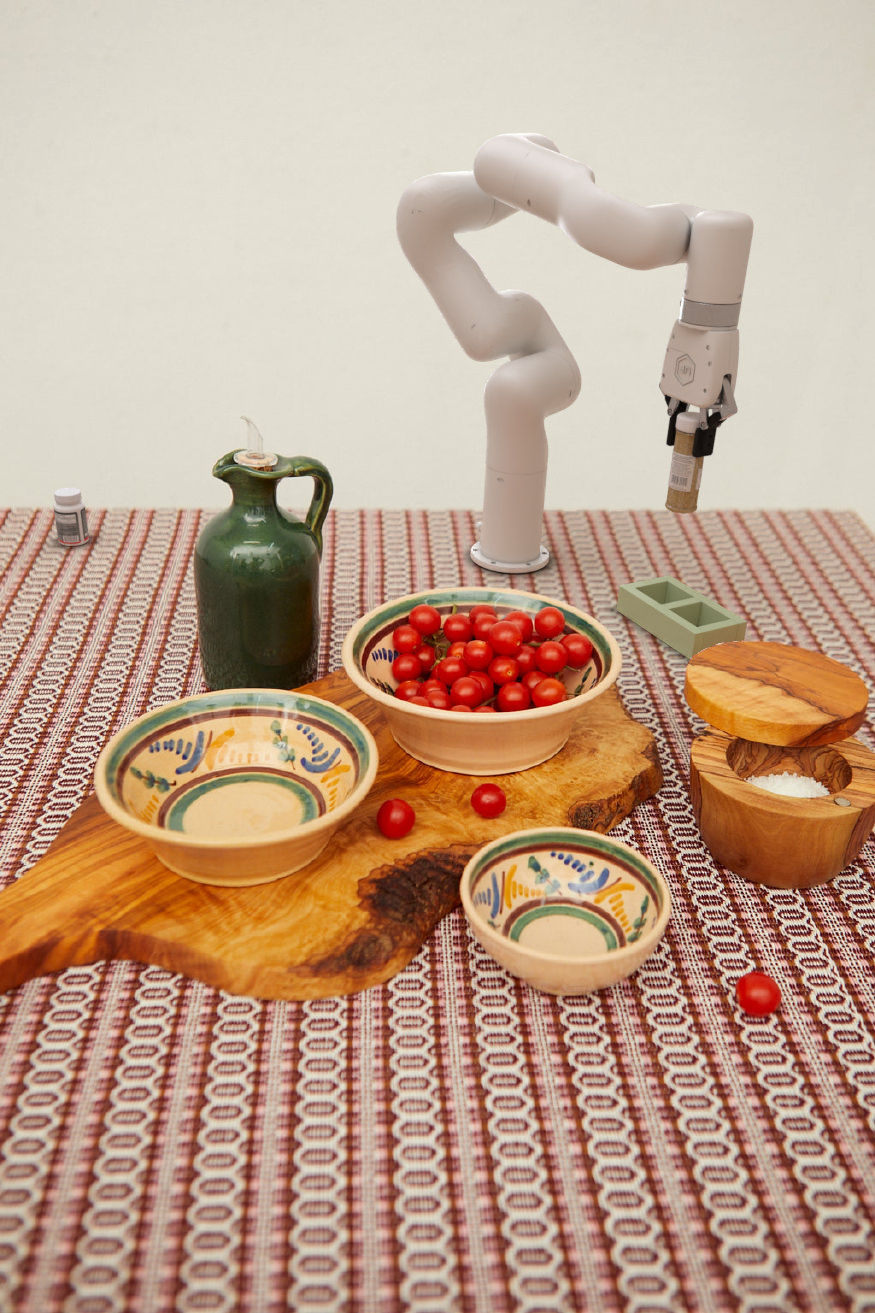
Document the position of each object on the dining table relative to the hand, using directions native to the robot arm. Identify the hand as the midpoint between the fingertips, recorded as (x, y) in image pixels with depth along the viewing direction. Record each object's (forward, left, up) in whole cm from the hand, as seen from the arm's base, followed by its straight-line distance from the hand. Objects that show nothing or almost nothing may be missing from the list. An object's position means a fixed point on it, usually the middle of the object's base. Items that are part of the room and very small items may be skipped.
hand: (689, 448), depth 150 cm
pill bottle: (-59, -73, -24) cm, 97 cm away
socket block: (+6, -3, -24) cm, 25 cm away
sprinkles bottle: (0, 0, -9) cm, 9 cm away
